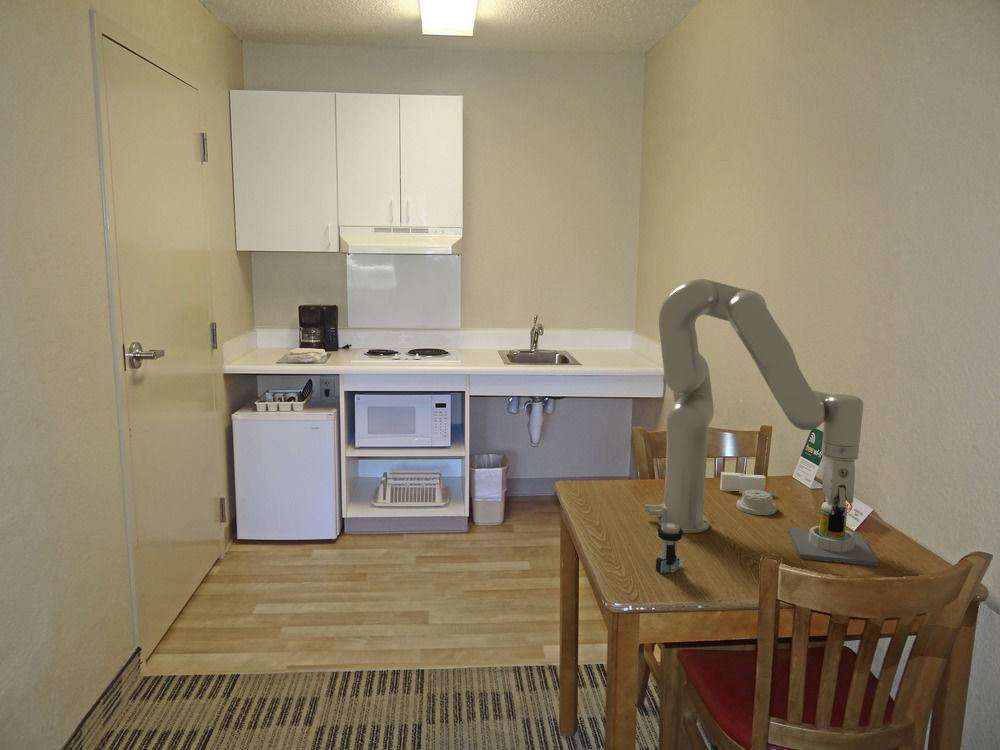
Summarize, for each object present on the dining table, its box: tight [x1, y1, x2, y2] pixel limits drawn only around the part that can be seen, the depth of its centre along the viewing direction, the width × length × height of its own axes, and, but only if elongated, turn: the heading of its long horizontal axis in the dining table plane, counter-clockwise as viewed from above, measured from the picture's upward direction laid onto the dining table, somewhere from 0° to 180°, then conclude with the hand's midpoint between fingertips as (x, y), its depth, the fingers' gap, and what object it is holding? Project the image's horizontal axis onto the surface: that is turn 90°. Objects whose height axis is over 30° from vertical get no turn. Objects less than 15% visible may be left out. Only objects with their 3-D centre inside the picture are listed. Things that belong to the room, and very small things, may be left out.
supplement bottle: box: [819, 496, 848, 540], centre depth 165 cm, size 5×5×10 cm
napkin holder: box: [719, 471, 767, 494], centre depth 204 cm, size 15×11×6 cm
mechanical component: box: [736, 489, 778, 516], centre depth 190 cm, size 10×4×10 cm
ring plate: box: [787, 525, 879, 567], centre depth 166 cm, size 16×16×4 cm
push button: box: [655, 523, 684, 574], centre depth 153 cm, size 7×5×10 cm
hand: (832, 525), depth 165 cm, fingers closed on supplement bottle, 5 cm apart
